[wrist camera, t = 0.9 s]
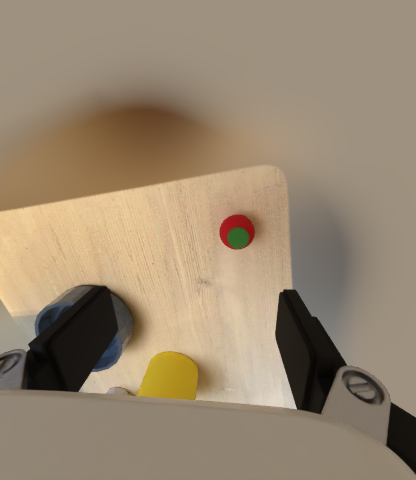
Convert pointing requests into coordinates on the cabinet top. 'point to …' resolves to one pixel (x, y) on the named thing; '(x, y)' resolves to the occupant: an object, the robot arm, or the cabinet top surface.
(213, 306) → the cabinet top surface
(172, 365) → the yellow toilet paper roll
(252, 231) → the toy tomato
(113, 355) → the bowl
